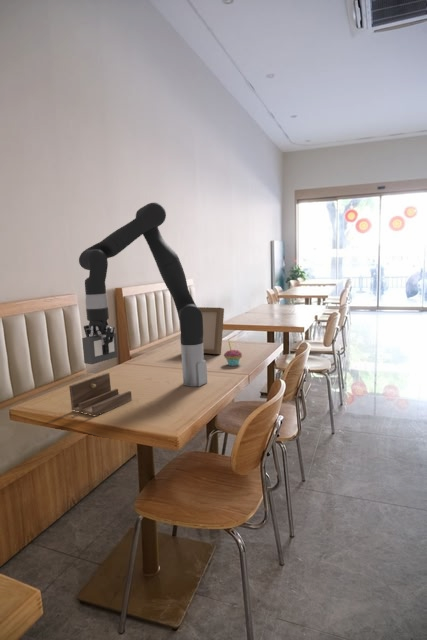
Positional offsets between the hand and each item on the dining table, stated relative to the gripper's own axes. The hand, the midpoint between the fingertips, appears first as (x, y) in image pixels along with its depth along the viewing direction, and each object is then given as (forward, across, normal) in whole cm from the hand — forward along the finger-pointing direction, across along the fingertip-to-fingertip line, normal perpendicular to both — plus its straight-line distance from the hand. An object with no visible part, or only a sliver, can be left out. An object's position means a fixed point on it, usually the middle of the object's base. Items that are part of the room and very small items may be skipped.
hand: (101, 353), depth 152 cm
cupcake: (+19, -14, -69) cm, 73 cm away
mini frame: (+2, 0, 0) cm, 2 cm away
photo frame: (+19, +14, -88) cm, 91 cm away
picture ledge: (+20, +1, 0) cm, 20 cm away
